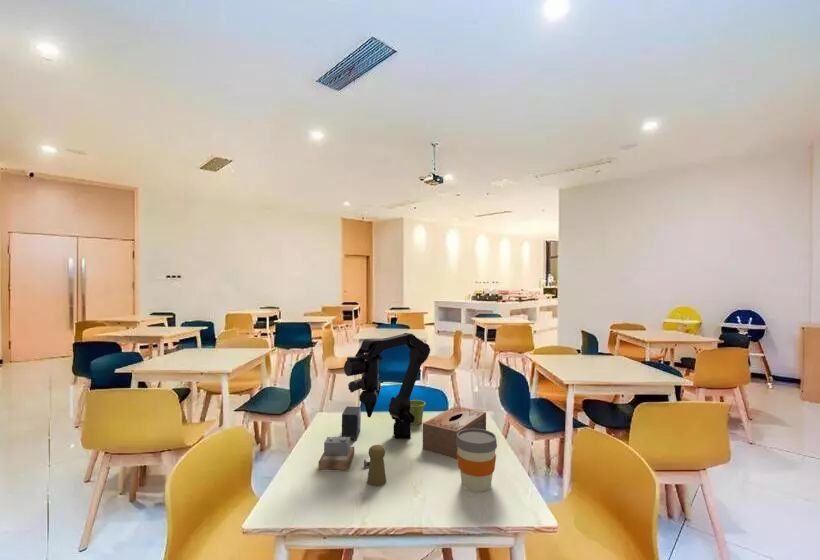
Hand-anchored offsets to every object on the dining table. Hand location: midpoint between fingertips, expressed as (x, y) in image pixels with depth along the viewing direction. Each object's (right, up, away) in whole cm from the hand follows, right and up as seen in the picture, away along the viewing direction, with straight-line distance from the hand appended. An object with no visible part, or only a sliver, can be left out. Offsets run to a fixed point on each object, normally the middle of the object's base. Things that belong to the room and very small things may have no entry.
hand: (370, 413), depth 149 cm
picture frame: (-10, -12, -14) cm, 21 cm away
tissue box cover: (+33, -13, +3) cm, 36 cm away
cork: (+5, -12, -27) cm, 30 cm away
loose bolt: (+3, -12, -16) cm, 21 cm away
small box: (-9, -13, +10) cm, 19 cm away
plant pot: (+17, -13, +26) cm, 34 cm away
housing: (-10, -9, -14) cm, 19 cm away
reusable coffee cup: (+36, -12, -29) cm, 47 cm away
